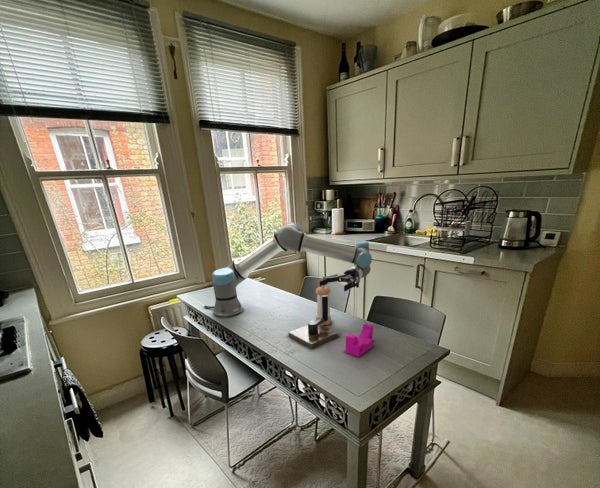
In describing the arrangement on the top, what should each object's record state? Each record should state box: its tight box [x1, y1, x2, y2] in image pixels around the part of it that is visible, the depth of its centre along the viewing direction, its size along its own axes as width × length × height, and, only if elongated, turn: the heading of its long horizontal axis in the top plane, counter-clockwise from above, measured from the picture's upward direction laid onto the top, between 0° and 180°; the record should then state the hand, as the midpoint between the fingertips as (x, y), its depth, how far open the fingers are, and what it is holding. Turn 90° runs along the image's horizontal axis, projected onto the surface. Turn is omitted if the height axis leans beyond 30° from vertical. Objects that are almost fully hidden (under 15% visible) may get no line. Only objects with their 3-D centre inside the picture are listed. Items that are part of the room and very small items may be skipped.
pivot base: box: [288, 324, 339, 349], centre depth 144 cm, size 16×16×2 cm
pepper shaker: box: [315, 285, 332, 326], centre depth 154 cm, size 7×7×19 cm
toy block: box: [344, 322, 374, 357], centre depth 132 cm, size 15×6×8 cm, turn 138°
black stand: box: [307, 295, 328, 334], centre depth 143 cm, size 13×4×15 cm, turn 138°
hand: (332, 286), depth 151 cm, fingers open, 13 cm apart
